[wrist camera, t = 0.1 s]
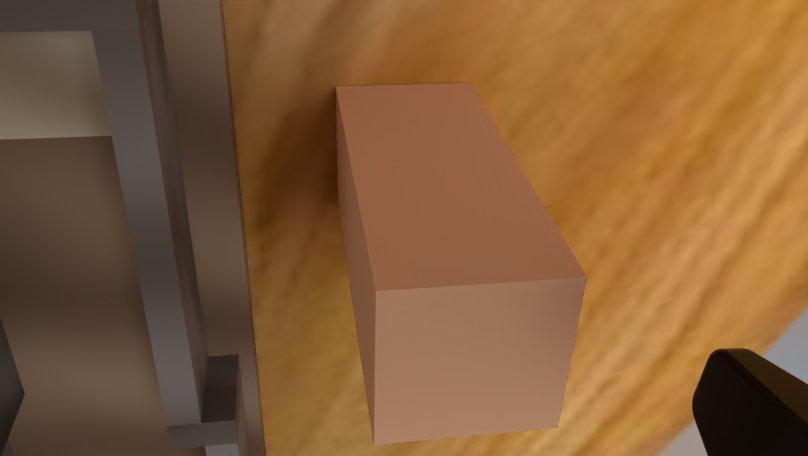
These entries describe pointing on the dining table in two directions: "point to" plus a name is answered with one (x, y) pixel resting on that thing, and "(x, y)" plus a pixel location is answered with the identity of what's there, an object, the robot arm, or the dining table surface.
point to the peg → (450, 268)
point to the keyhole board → (122, 234)
